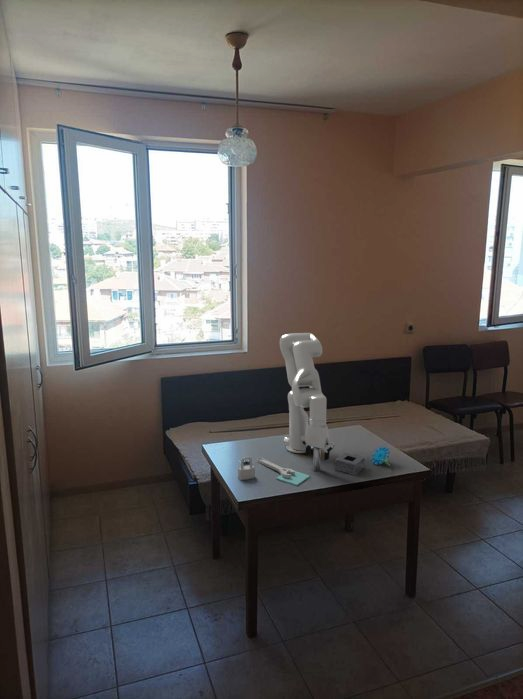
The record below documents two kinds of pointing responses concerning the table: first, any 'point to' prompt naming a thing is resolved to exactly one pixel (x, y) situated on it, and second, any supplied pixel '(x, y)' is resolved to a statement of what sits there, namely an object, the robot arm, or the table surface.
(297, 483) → the mat
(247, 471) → the padlock
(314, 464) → the metal cylinder
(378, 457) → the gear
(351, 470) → the block
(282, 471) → the adjustable wrench
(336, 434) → the table surface
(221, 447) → the table surface
